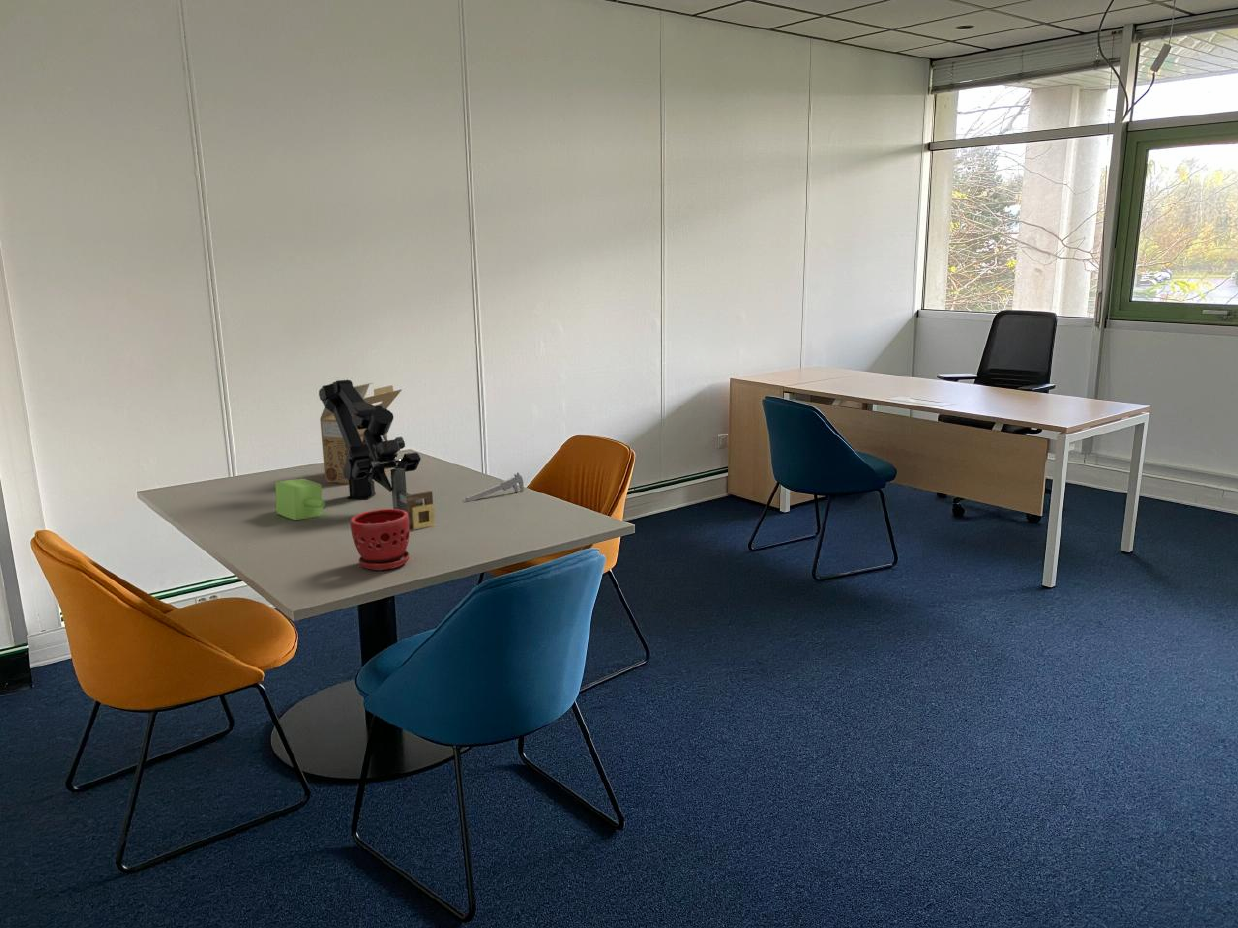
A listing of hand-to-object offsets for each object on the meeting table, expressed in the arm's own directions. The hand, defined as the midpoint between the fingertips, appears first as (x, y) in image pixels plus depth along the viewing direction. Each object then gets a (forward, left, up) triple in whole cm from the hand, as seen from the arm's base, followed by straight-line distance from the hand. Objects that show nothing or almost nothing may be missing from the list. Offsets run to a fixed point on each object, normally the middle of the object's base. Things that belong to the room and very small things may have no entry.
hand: (396, 490), depth 259 cm
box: (-29, +45, -7) cm, 53 cm away
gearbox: (-27, -2, -7) cm, 28 cm away
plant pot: (+12, -42, -7) cm, 45 cm away
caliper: (+21, +23, -8) cm, 32 cm away
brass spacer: (+11, -11, -7) cm, 17 cm away
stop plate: (+9, -9, -7) cm, 15 cm away
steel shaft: (+5, -5, -7) cm, 10 cm away
